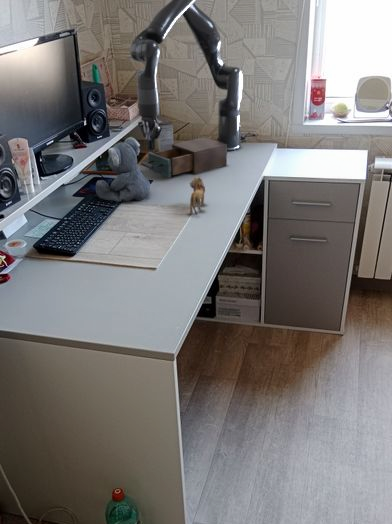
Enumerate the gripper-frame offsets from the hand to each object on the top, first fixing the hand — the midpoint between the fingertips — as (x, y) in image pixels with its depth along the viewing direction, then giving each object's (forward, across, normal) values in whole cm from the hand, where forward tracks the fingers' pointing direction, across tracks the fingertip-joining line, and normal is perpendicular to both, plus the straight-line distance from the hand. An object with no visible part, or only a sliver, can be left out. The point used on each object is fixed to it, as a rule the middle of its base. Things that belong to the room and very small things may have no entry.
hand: (151, 149), depth 216 cm
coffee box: (+11, +16, -16) cm, 25 cm away
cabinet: (+11, 0, -23) cm, 26 cm away
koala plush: (+11, -11, +19) cm, 24 cm away
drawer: (+10, 0, -8) cm, 12 cm away
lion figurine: (+10, -38, +8) cm, 40 cm away
